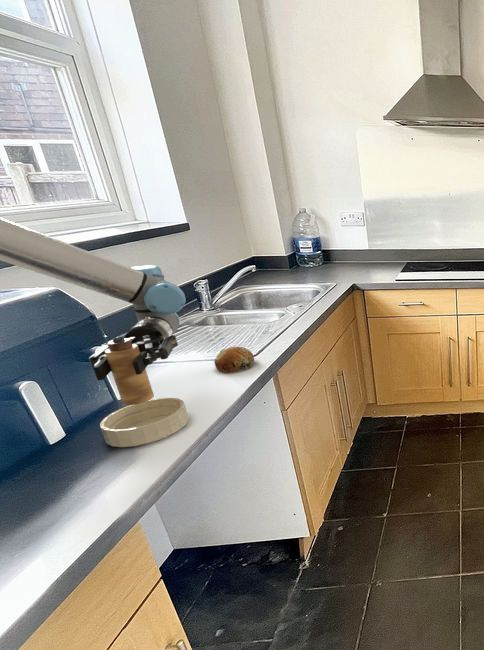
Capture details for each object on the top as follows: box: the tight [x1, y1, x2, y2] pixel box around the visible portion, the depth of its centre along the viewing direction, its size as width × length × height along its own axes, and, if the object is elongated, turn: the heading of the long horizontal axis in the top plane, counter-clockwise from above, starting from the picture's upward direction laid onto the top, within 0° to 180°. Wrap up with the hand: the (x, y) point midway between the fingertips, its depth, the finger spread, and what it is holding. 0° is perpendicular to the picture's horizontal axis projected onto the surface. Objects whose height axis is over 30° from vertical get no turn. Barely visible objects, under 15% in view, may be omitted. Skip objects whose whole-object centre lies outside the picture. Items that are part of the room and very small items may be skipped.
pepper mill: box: [105, 336, 155, 406], centre depth 88 cm, size 5×5×14 cm
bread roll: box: [213, 345, 255, 374], centre depth 125 cm, size 10×10×8 cm
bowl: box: [99, 397, 190, 448], centre depth 92 cm, size 14×14×4 cm
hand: (117, 371), depth 83 cm, fingers closed on pepper mill, 5 cm apart
